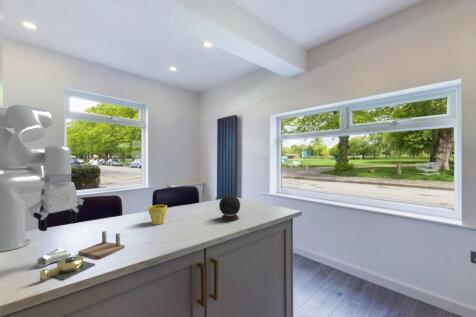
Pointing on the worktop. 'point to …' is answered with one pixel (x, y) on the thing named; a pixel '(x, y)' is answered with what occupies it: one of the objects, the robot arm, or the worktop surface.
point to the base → (69, 274)
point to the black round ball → (229, 208)
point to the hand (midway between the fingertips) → (58, 226)
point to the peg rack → (102, 248)
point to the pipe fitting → (53, 257)
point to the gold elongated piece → (63, 267)
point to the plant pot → (158, 214)
